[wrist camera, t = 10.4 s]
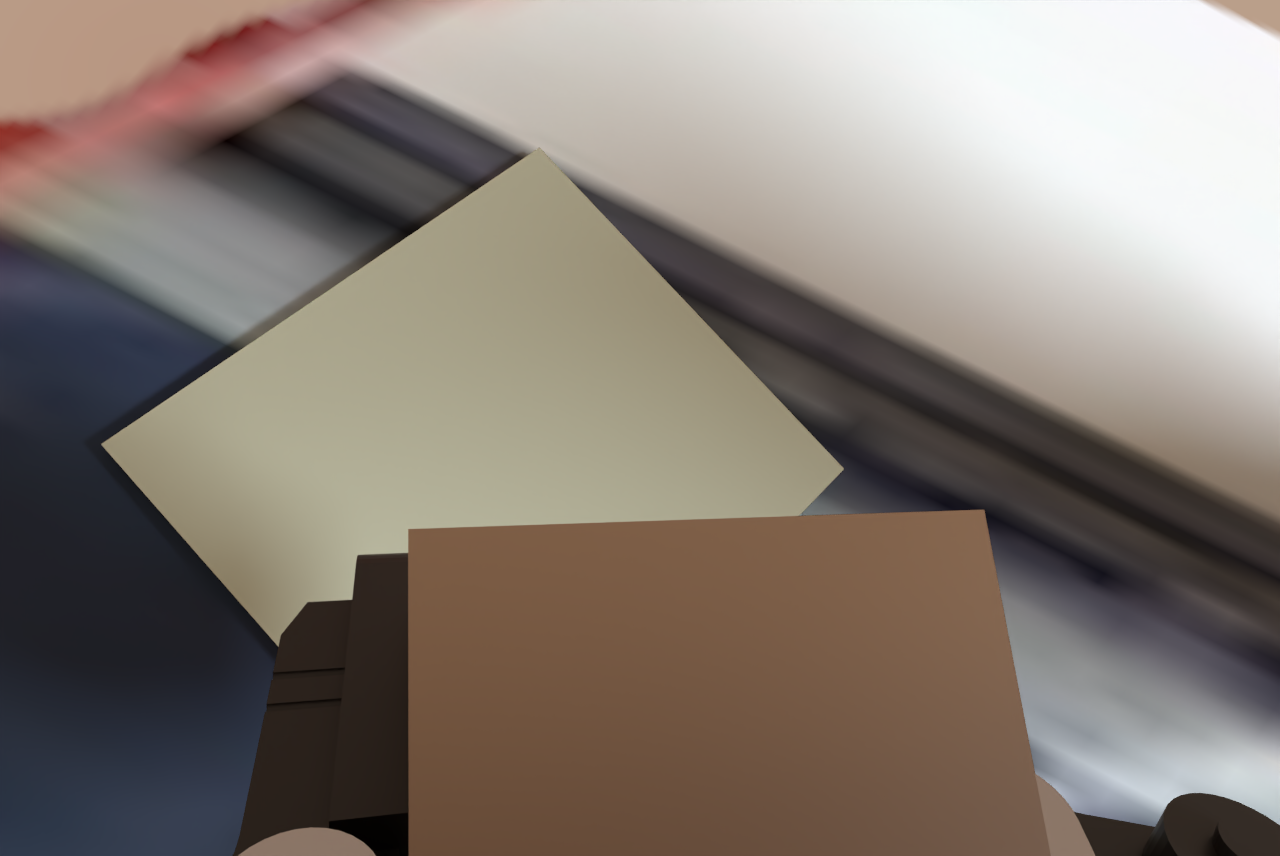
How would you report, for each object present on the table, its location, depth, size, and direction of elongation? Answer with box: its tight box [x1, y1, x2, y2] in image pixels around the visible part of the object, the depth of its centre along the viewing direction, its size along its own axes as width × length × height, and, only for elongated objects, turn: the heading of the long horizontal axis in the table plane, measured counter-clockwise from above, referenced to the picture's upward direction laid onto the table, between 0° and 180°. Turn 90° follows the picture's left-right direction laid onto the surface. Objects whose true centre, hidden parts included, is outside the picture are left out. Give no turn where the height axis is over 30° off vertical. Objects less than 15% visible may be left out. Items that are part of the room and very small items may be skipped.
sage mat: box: [101, 148, 844, 647], centre depth 21 cm, size 13×12×1 cm
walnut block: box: [408, 510, 1051, 856], centre depth 9 cm, size 4×4×9 cm
